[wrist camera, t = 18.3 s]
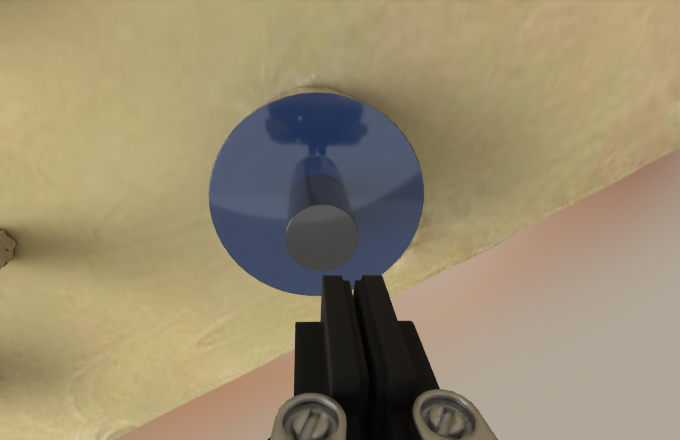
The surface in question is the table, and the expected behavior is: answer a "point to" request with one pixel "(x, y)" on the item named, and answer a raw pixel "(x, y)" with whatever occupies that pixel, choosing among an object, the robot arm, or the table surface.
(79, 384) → the table surface
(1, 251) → the handle
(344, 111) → the lid
